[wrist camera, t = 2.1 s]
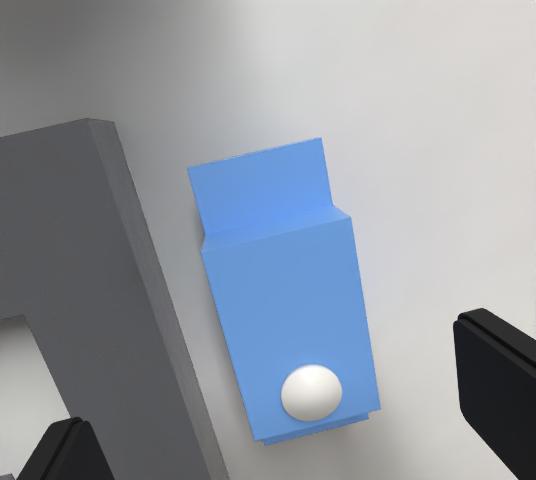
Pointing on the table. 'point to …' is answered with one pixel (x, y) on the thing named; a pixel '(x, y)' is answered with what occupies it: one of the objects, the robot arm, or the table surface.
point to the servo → (286, 290)
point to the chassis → (100, 301)
